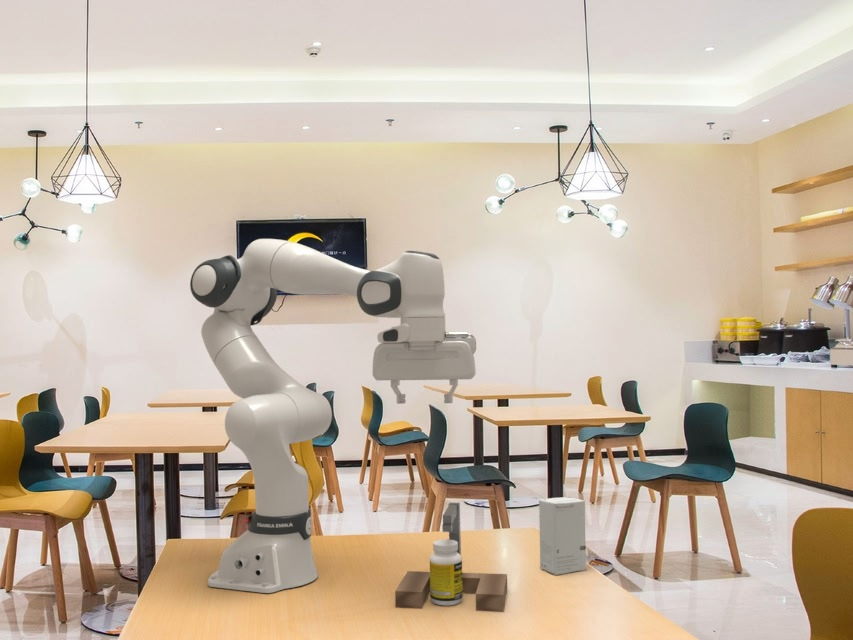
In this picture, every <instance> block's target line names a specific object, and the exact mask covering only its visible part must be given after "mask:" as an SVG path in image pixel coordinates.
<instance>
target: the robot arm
mask: <svg viewBox="0 0 853 640" xmlns="http://www.w3.org/2000/svg"><path fill="white" fill-rule="evenodd" d="M190 277H191V278H190V282H189V283H190V284H189V287H190V288H189V289H190V292H191V294H192V296H193V298H195V300H196V301H198V302H199V303H200V304H201V305H204V306H206V307H208V308H213V309H214V310H213V313H212V314H211V315H209V316H208V317H207V318H205V320H204V322H203V323H202V326H201V331H200V333H201V337H202V341H203V343H204V347H205V348H206V352H207V353H208V355H209V357H210V359H211V361H212V363H213V365H214V366H215V368H216V369H217V371H218V372H219V374H220V376H221V377H222V379H223V381H224V382H225V383H226V385H227V387H228V388H229V390H230V391H231V392H232V393H233V394H234V395H236V396H237V397H239V398H240V400H237V401H235V402H233V403H232V404H231V405H230V406H229V408H228V409H227V412H226V413H225V418H224V429H225V434H226V436H227V438H228V439H229V441H230V442H231V443H232V445H234V446H235V447H237V448H238V449H240V451H241V452H242V453H243V454H244V456H245V458H246V459H247V460H248V461H247V462H248V463H249V465H250V468H251V471H252V474H253V475H252V476H253V482H254V484H253V485H254V499H255V501H254V502H255V506H254V507H255V509H254V510H252V512H251V513H250V514H248V515H247V517H245V518H244V519H243V520H244V525H246V524H247V530H245V532H243V533H242V534H241V535H240V536H238V537H237V538H236V539H235V540H234V541H233V542H232V543H230V544H229V545H228V546H227V547H226V548H225V549H224V550H223V552H222V553H221V557H220V559H219V567H218V569H217V570H215V571H214V572H213V573H211V575H210V576H208V579H207V585H208V587H210V588H219V589H227V590H237V591H246V592H251V593H261V594H262V593H263V594H271V593H277V592H279V591H281V590H285V589H290V588H296V587H300V586H304V585H307V584H309V583H312V582H314V581H315V580H316V579H317V578H318V577H319V573H318V571H317V570H318V569H317V567H316V564H315V560H314V554H313V547H312V541H311V536H312V530H313V529H312V528H313V526H312V525H313V522H312V521H313V519H312V512H311V508H310V504H309V503H310V501H309V499H310V497H309V496H310V495H309V474H308V472H307V470H306V469H305V467H303V466H302V465H300V464H298V463H296V462H295V460H294V459H293V457H292V456H293V455H292V453H291V450H290V444H291V445H292V444H296V443H301V442H302V443H303V442H308V441H310V440H312V439H314V438H317V437H319V436H321V435H323V434H325V433H326V432H327V431H328V430H329V427H330V426H331V424H332V419H333V412H332V407H331V404H330V402H329V400H328V399H327V397H325V395H323V394H321V393H320V392H316V391H314V390H311V389H309V388H308V387H306V386H304V385H303V384H301V382H298V381H297V380H296V379H295V378H294V377H292V376H291V375H289V373H287V372H286V371H285V370H284V369H283V368H281V367H280V366H279V364H278V363H277V362H276V361H275V360H274V359H273V357H272V356H271V355H270V353H269V352H268V351H267V349H266V348H265V346H264V345H263V343H262V342H261V341H260V339H259V337H258V336H257V335H256V334H255V332H254V331H253V329H252V326H255V325H258V324H260V323H261V322H262V321H263V319H264V318H265V317H266V316H267V315H268V314H269V313H270V312H271V311H272V310H273V308H274V307H275V303H276V301H277V298H278V297H277V296H278V291H280V292H284V293H288V294H293V295H300V296H301V295H302V296H316V295H317V296H318V295H346V296H347V295H348V296H352V297H356V300H357V303H358V305H359V308H360V309H361V310H362V311H363V313H364V314H366V315H368V316H372V317H375V318H390V319H392V318H393V319H400V320H399V321H400V324H399V325H396V326H392V327H391V328H388V329H384V330H382V331H379V332H378V333H377V342H378V343H379V344H378V345H377V346H376V347H375V348H374V350H373V351H374V352H373V357H372V377H373V378H374V379H375V381H377V382H378V381H390V387H391V389H392V391H393V392H394V394H395V395H396V404H398V405H399V404H406V401H407V400H406V393H402V392H401V390H400V389H399V387H398V386H400V384H401V383H400V381H430V380H431V381H432V380H433V381H434V380H435V381H437V380H438V381H441V380H443V381H444V380H449V381H448V382H449V386H451V388H450V389H449V392H448V393H444V394H443V398H444V399H443V402H444V404H453V402H454V401H453V398H454V397H453V395H454V393H455V391H456V389H457V387H458V385H459V380H472V379H473V378H474V377H475V376H476V371H477V370H476V362H475V361H476V360H475V357H474V354H475V353H476V350H477V340H476V338H475V336H474V335H473V334H471V333H469V332H468V331H459V332H456V331H455V332H454V331H450V332H447V331H446V313H445V311H444V299H445V294H446V293H445V290H446V289H445V275H444V268H443V264H442V261H441V258H440V257H438V255H437V254H434V253H430V252H423V251H417V250H406V251H403V252H402V253H401V254H400V255H399V256H398V257H397V258H396V259H395V260H394V261H392V262H391V263H388V264H387V265H384V266H383V267H380V268H377V269H375V270H368V269H365V268H361V267H357V266H354V265H351V264H349V263H346V262H344V261H341V260H339V259H336V258H334V257H333V256H329V255H328V254H325V253H323V252H321V251H318V250H317V249H314V248H312V247H309V246H307V245H303V244H301V243H297V242H294V241H289V240H285V239H276V238H258V239H255V240H254V241H252V242H250V243H249V244H248V245H247V247H246V248H245V250H244V252H243V254H242V256H241V257H240V258H237V259H236V258H235V257H234V256H232V255H231V254H229V255H225V256H222V257H219V258H213V259H207V260H205V261H203V262H201V263H200V264H198V265H197V266H196V268H195V269H194V270H193V273H192V274H191V276H190Z"/></svg>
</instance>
